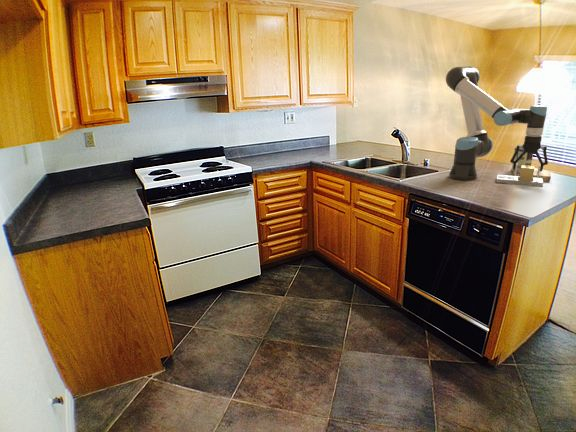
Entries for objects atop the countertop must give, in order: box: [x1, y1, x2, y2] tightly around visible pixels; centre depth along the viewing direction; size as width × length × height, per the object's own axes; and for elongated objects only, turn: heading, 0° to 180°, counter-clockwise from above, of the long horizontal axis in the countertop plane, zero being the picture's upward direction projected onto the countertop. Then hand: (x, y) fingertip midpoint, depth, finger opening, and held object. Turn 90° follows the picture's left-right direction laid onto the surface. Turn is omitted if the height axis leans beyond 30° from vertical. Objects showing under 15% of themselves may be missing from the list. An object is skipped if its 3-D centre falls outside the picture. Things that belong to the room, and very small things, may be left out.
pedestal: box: [533, 170, 552, 182], centre depth 216 cm, size 12×12×3 cm
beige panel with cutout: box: [495, 174, 544, 187], centre depth 210 cm, size 22×11×2 cm, turn 60°
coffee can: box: [510, 147, 534, 174], centre depth 231 cm, size 10×10×14 cm
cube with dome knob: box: [518, 165, 535, 181], centre depth 207 cm, size 6×6×9 cm
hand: (526, 176), depth 207 cm, fingers open, 10 cm apart
